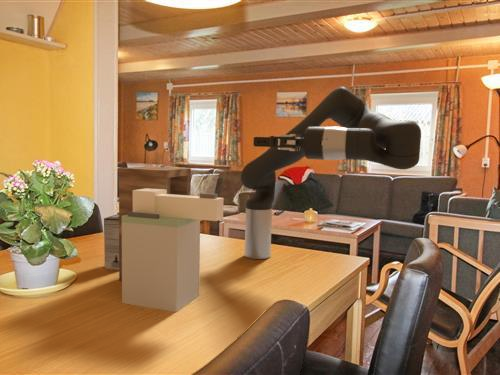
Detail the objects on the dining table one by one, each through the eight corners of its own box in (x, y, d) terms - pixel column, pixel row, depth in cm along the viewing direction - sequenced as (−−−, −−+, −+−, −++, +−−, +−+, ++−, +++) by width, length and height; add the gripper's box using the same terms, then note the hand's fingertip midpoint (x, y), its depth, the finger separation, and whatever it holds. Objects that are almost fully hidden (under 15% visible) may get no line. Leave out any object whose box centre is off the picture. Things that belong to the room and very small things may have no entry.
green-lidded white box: (149, 288, 117) (149, 205, 115) (199, 295, 112) (200, 209, 110) (122, 302, 106) (121, 211, 104) (176, 312, 101) (177, 216, 99)
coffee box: (118, 261, 143) (118, 213, 141) (136, 263, 142) (136, 214, 140) (103, 269, 134) (103, 217, 132) (122, 270, 133) (122, 219, 131)
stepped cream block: (146, 211, 112) (146, 188, 111) (224, 217, 105) (225, 193, 104) (132, 214, 106) (132, 190, 106) (214, 221, 99) (215, 195, 98)
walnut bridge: (146, 268, 136) (146, 166, 133) (189, 274, 131) (190, 168, 128) (119, 281, 123) (118, 168, 120) (165, 287, 118) (166, 170, 115)
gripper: (332, 128, 105) (268, 127, 111) (322, 125, 92) (250, 124, 97) (331, 159, 106) (267, 157, 111) (320, 160, 93) (249, 158, 98)
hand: (259, 142), depth 104 cm, fingers open, 8 cm apart
